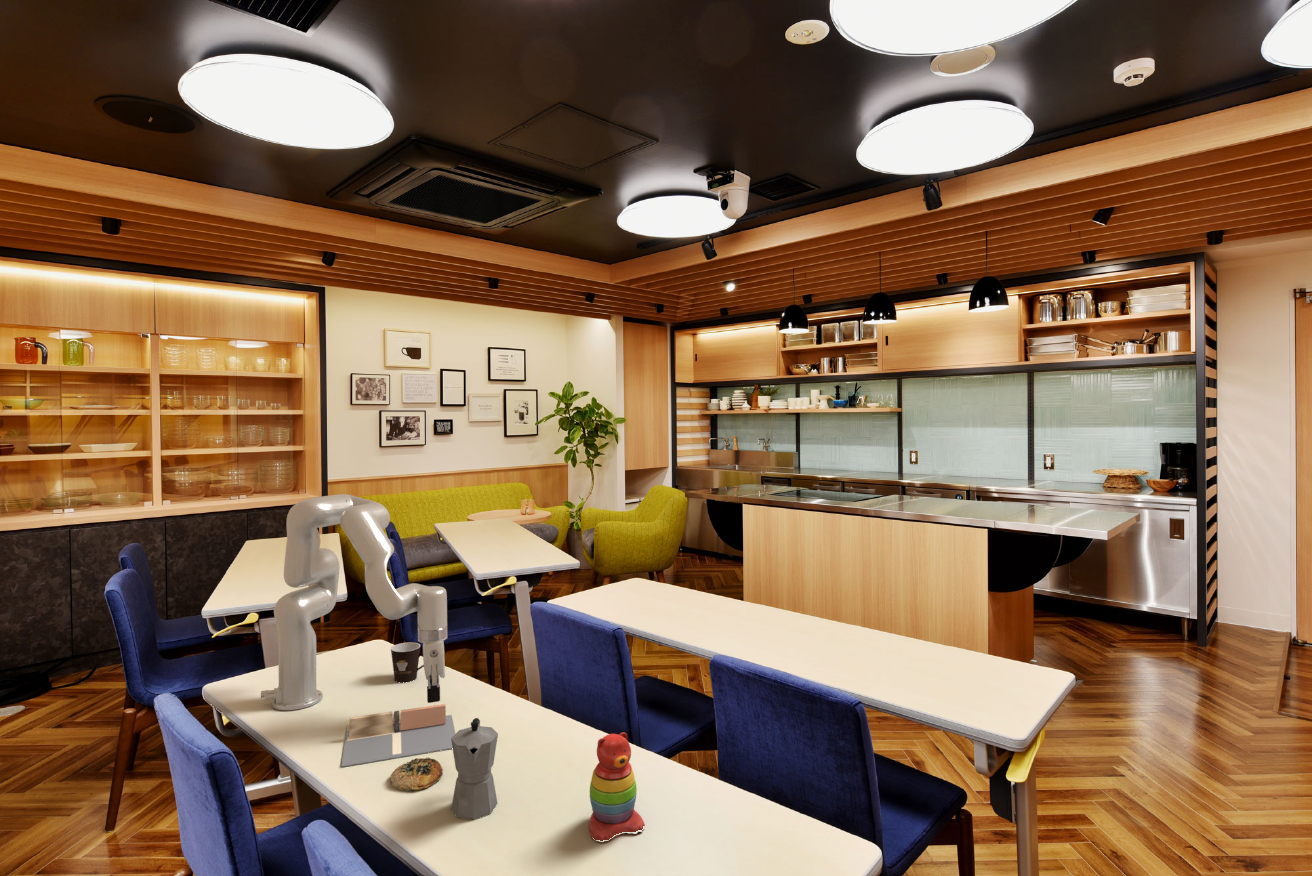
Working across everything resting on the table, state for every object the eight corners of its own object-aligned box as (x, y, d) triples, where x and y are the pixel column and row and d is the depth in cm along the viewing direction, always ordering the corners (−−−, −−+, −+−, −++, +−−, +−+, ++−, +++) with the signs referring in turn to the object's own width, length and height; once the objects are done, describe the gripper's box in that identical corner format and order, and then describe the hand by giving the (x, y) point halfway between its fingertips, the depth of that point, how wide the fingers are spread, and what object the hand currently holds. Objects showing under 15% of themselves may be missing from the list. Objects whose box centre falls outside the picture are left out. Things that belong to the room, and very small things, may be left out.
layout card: (341, 767, 153) (341, 766, 153) (346, 731, 170) (346, 730, 170) (458, 748, 162) (458, 746, 162) (451, 716, 180) (451, 714, 180)
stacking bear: (595, 845, 125) (596, 753, 125) (580, 816, 135) (580, 730, 134) (648, 832, 130) (648, 742, 129) (629, 804, 139) (630, 721, 139)
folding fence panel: (400, 730, 170) (400, 712, 170) (400, 728, 171) (400, 710, 171) (445, 723, 174) (445, 705, 174) (445, 721, 175) (445, 703, 175)
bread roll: (443, 762, 155) (442, 743, 155) (442, 794, 145) (441, 774, 144) (393, 771, 152) (391, 751, 152) (387, 804, 142) (386, 783, 141)
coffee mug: (384, 681, 203) (384, 649, 203) (404, 672, 211) (404, 641, 211) (414, 687, 199) (414, 654, 199) (434, 677, 207) (434, 645, 207)
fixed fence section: (349, 739, 166) (349, 719, 165) (349, 737, 167) (349, 717, 167) (399, 732, 170) (399, 712, 170) (399, 730, 171) (399, 710, 171)
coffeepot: (497, 823, 132) (497, 734, 132) (448, 829, 130) (448, 738, 130) (498, 782, 147) (498, 702, 147) (454, 787, 145) (454, 705, 145)
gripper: (449, 640, 173) (450, 709, 173) (445, 624, 186) (446, 688, 187) (418, 643, 170) (420, 714, 170) (416, 627, 184) (417, 693, 184)
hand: (433, 700), depth 178 cm, fingers closed
